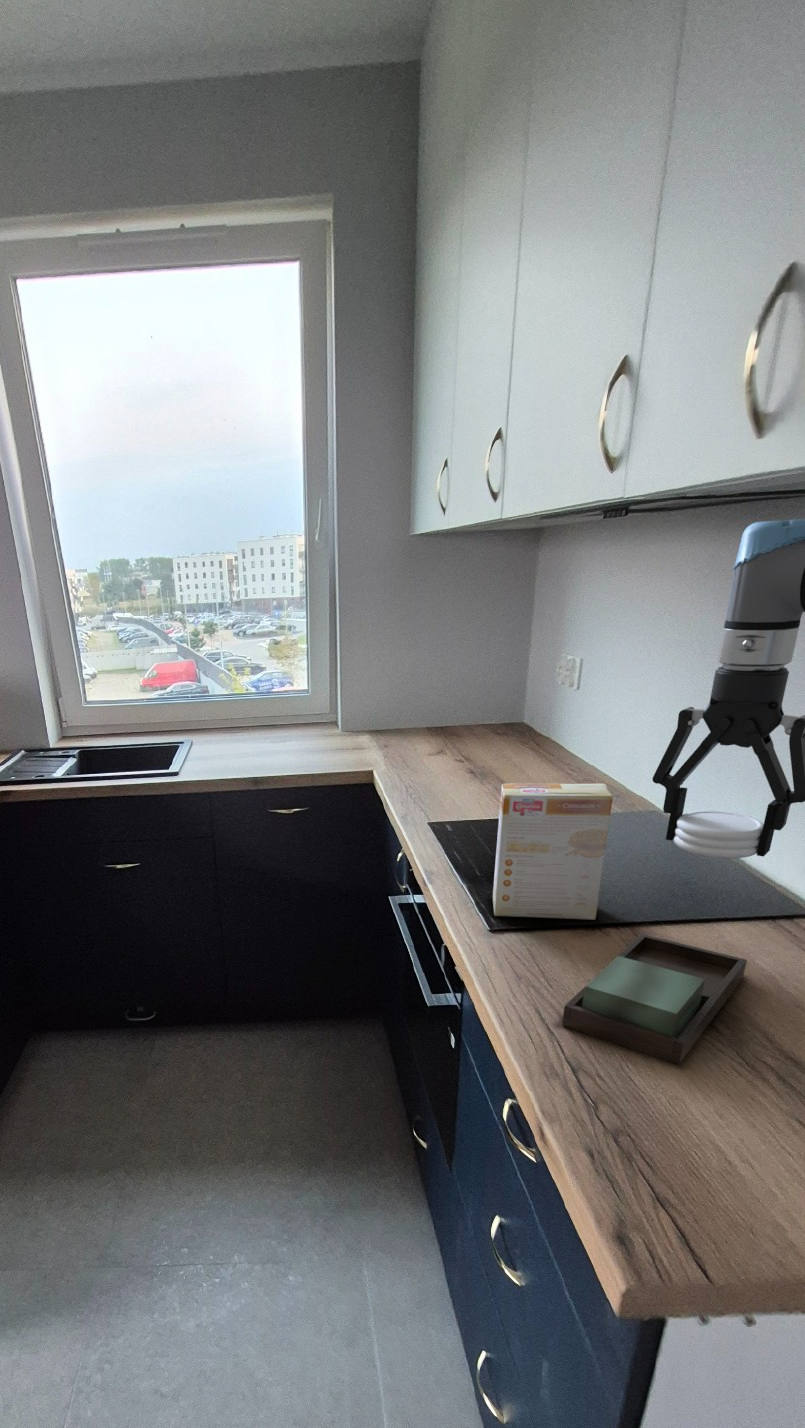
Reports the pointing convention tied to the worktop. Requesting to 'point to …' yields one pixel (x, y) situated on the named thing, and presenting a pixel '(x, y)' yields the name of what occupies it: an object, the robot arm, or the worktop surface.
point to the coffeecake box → (551, 850)
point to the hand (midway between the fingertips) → (716, 845)
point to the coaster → (718, 834)
